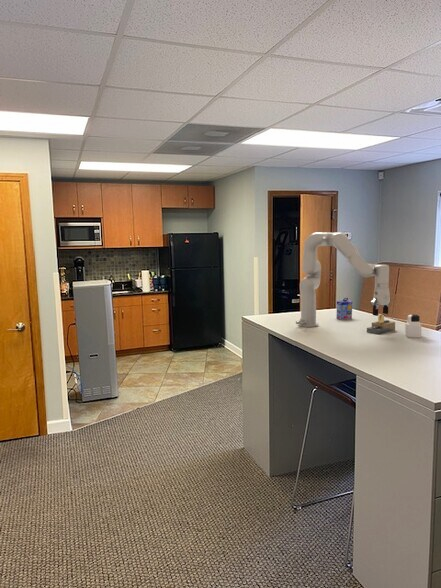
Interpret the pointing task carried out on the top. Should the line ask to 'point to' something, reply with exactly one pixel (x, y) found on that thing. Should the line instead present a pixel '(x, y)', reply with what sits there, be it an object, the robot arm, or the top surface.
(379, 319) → the pin
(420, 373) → the top surface
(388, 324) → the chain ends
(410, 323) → the medicine bottle
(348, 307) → the ink cartridge box
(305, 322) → the robot arm
